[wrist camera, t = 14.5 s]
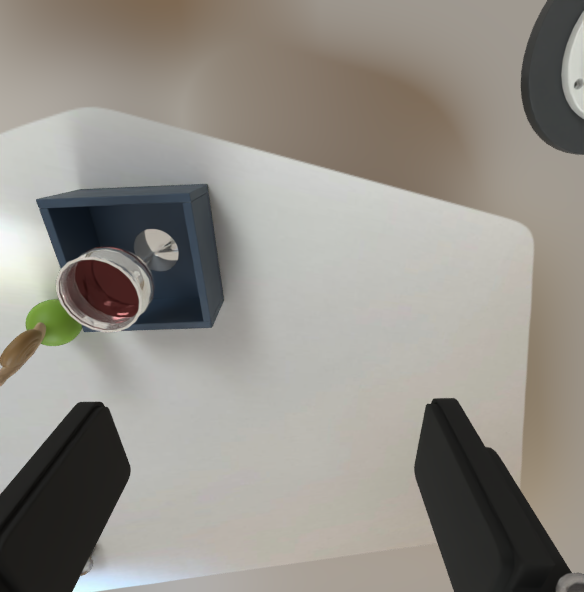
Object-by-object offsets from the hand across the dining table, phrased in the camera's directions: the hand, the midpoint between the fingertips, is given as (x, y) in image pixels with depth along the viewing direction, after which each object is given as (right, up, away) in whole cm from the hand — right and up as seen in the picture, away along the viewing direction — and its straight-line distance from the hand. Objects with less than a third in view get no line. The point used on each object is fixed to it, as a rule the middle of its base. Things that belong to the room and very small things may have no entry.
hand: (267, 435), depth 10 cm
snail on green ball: (-27, +2, +31) cm, 42 cm away
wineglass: (-15, +9, +27) cm, 32 cm away
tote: (-15, +10, +28) cm, 33 cm away
